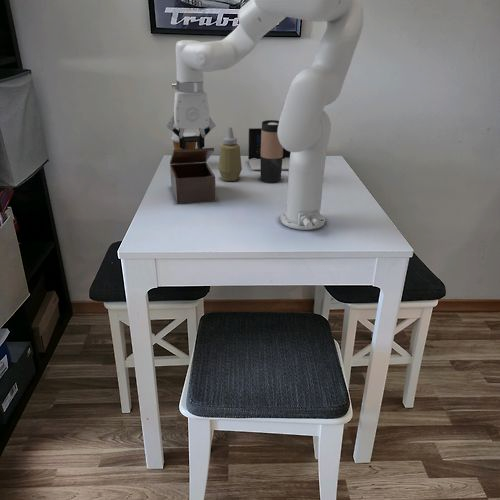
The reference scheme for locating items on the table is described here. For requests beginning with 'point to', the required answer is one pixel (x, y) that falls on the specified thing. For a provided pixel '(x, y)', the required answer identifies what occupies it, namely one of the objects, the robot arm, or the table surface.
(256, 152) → the laptop
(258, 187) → the table surface
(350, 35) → the robot arm
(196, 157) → the lid
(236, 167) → the squeeze bottle
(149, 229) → the table surface
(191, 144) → the disposable coffee cup
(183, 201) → the box
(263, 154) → the travel mug
